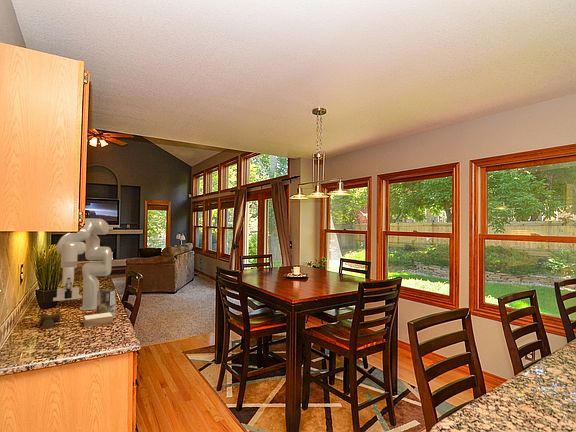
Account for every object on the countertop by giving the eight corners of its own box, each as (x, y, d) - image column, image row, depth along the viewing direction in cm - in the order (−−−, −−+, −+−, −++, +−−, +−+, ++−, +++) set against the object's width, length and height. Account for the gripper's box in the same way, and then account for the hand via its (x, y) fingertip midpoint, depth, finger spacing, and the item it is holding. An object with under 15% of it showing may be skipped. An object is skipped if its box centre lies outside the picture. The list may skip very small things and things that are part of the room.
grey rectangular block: (36, 331, 174) (41, 321, 191) (58, 329, 179) (61, 319, 196) (37, 320, 174) (42, 310, 191) (59, 318, 179) (62, 309, 196)
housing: (53, 299, 177) (53, 288, 177) (81, 296, 185) (81, 286, 185) (53, 301, 172) (53, 290, 172) (82, 298, 180) (82, 288, 180)
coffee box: (116, 315, 206) (116, 289, 206) (109, 317, 199) (110, 291, 200) (102, 314, 206) (103, 289, 207) (95, 317, 200) (96, 291, 201)
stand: (83, 323, 187) (83, 315, 187) (110, 319, 195) (110, 312, 196) (84, 327, 180) (84, 319, 180) (112, 323, 188) (112, 315, 188)
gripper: (60, 263, 184) (59, 295, 183) (61, 266, 170) (59, 301, 169) (76, 262, 188) (75, 293, 188) (77, 265, 174) (76, 299, 174)
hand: (67, 296), depth 178 cm, fingers closed on housing, 6 cm apart
